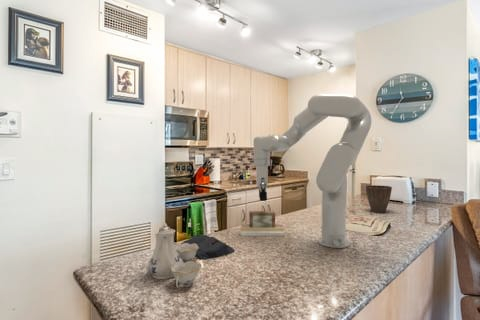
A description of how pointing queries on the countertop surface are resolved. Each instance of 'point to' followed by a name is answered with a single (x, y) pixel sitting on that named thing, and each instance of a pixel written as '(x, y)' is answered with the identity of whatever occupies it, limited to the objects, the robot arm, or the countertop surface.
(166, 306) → the countertop surface
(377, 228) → the grape print plaque
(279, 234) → the ledge board
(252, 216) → the brown rectangular panel
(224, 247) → the dark folded cloth
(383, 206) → the plant pot
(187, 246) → the chinaware
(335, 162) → the robot arm
